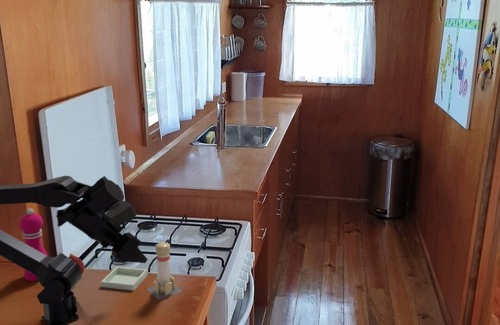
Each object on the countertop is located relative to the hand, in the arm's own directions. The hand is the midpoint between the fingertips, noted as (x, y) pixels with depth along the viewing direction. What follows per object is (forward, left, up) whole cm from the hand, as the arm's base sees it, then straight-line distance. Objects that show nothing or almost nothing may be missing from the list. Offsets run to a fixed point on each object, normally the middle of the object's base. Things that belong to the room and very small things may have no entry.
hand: (138, 254), depth 121 cm
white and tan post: (+7, -1, -12) cm, 14 cm away
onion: (-5, +24, -13) cm, 28 cm away
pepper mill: (-11, +34, -13) cm, 38 cm away
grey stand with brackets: (+7, -1, -13) cm, 15 cm away
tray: (+3, +11, -13) cm, 17 cm away
